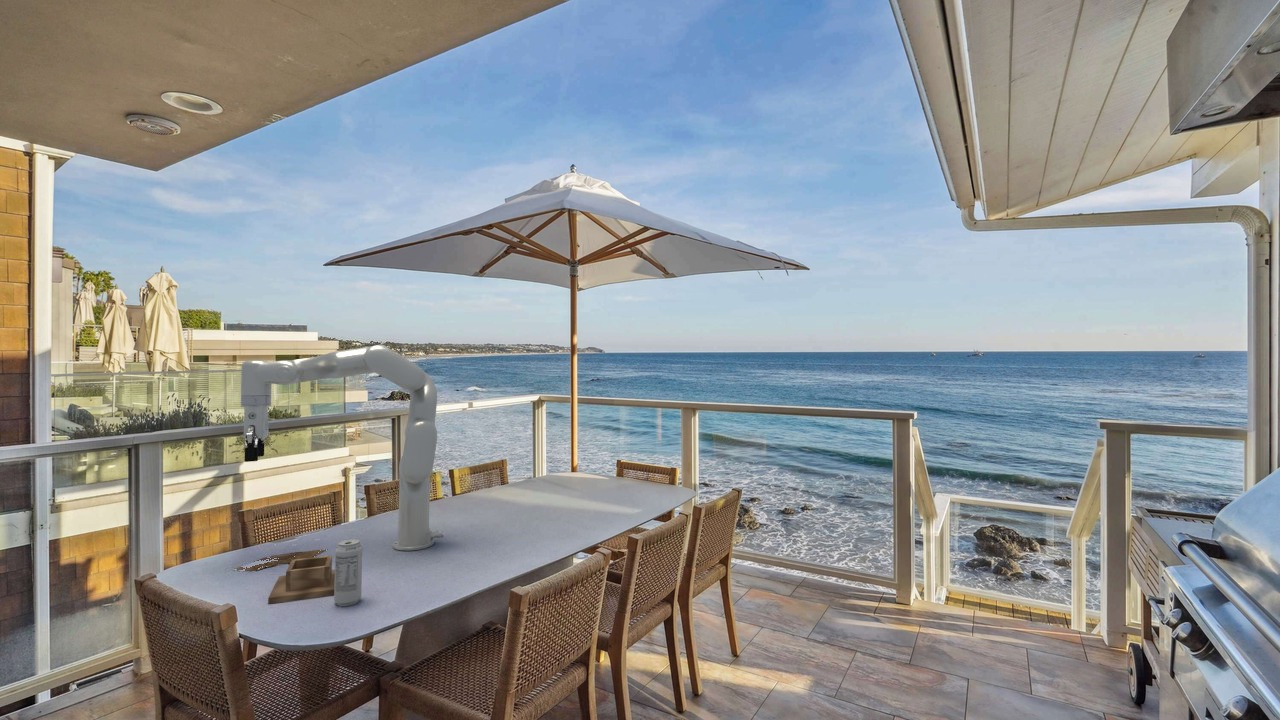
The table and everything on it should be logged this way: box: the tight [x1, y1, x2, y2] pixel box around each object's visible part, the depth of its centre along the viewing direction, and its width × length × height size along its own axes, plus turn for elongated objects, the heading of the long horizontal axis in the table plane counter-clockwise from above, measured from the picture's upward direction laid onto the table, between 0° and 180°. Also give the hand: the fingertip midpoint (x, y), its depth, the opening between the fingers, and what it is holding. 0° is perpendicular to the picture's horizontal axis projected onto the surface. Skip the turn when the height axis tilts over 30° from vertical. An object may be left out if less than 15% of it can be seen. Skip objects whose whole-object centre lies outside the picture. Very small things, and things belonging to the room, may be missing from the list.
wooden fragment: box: [233, 548, 329, 572], centre depth 170 cm, size 26×11×1 cm, turn 138°
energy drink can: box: [333, 538, 363, 607], centre depth 140 cm, size 6×6×15 cm
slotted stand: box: [267, 555, 335, 605], centre depth 149 cm, size 16×16×6 cm
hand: (254, 458), depth 167 cm, fingers open, 9 cm apart
